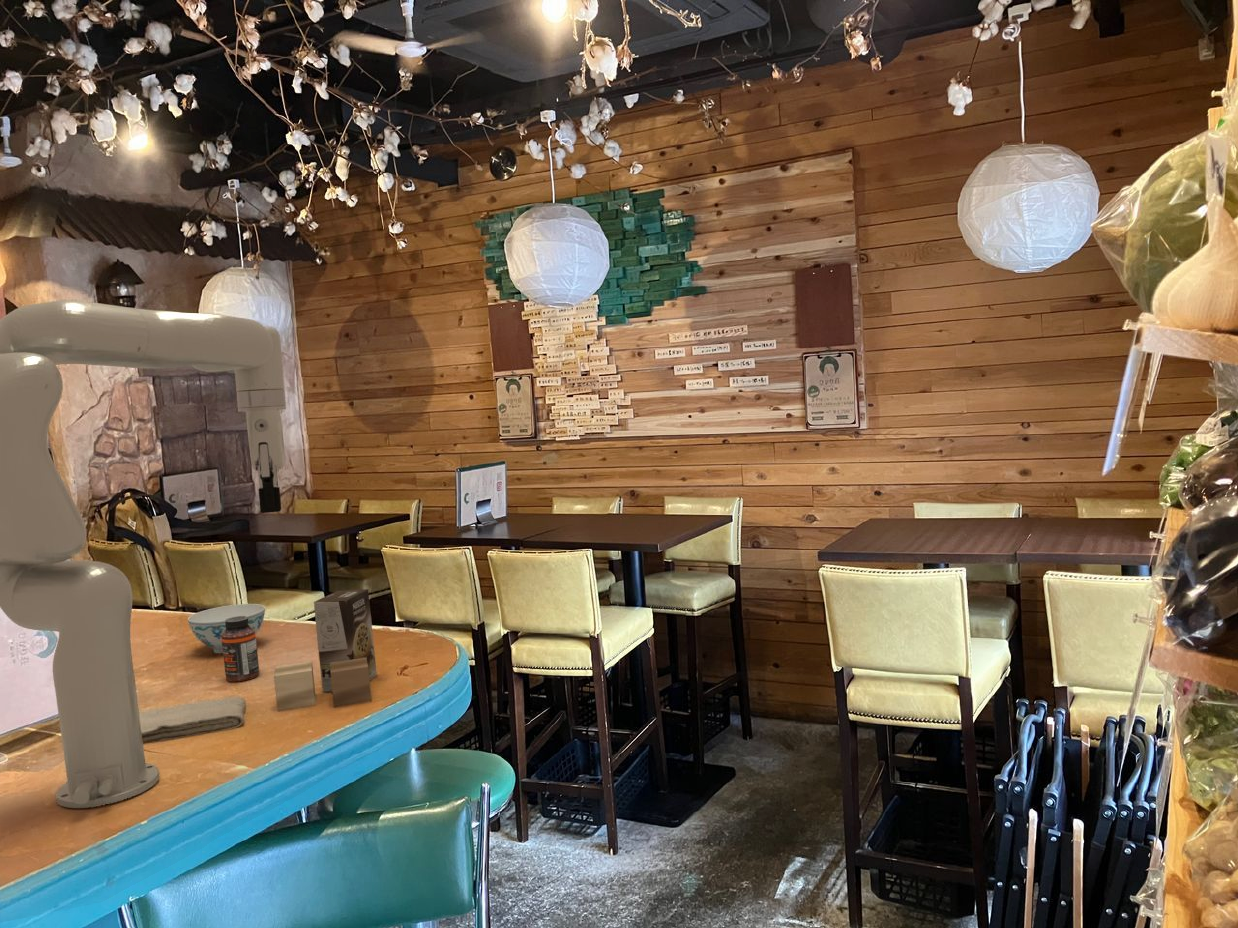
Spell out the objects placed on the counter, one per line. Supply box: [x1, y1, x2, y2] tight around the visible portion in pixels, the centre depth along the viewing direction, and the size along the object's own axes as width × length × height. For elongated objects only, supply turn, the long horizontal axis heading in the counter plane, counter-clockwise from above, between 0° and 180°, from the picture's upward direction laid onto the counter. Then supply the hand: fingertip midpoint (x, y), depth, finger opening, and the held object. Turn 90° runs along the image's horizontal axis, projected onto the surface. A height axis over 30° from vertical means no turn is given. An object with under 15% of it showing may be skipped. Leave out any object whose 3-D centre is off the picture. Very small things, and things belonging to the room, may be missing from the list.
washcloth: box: [139, 696, 246, 744], centre depth 158 cm, size 12×18×3 cm, turn 108°
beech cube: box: [273, 660, 317, 712], centre depth 166 cm, size 6×6×6 cm
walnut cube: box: [330, 658, 372, 708], centre depth 165 cm, size 6×6×6 cm
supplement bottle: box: [221, 616, 260, 683], centre depth 183 cm, size 6×6×11 cm
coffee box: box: [313, 588, 378, 693], centre depth 173 cm, size 9×6×16 cm
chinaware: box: [187, 603, 266, 654], centre depth 204 cm, size 15×15×8 cm
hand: (271, 511), depth 164 cm, fingers closed
